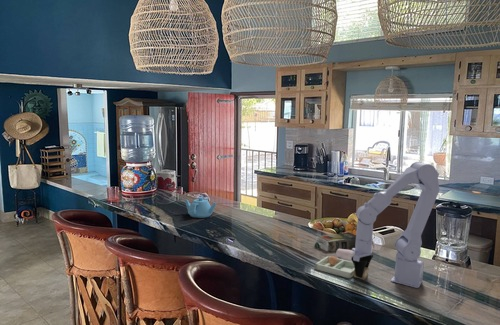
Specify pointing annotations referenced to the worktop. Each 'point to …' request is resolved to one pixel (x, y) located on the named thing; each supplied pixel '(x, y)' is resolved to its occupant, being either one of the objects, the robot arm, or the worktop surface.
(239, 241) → the worktop surface
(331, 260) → the terracotta ball
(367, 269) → the maple block
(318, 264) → the tray
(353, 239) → the juice carton
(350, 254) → the smoothie
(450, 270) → the worktop surface
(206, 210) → the teapot
